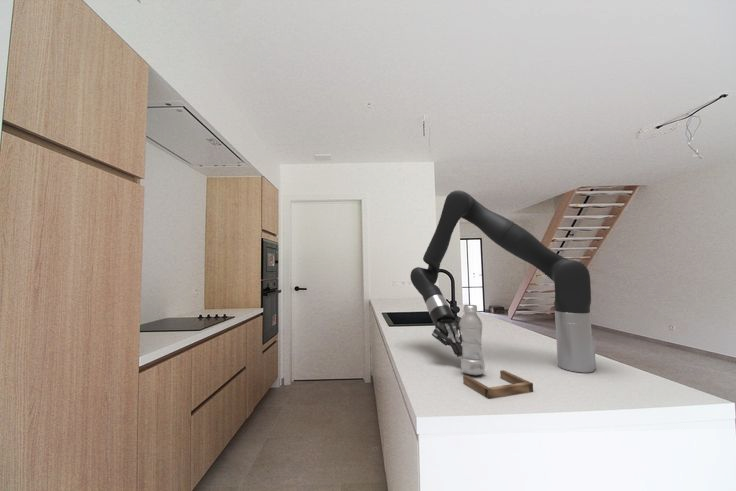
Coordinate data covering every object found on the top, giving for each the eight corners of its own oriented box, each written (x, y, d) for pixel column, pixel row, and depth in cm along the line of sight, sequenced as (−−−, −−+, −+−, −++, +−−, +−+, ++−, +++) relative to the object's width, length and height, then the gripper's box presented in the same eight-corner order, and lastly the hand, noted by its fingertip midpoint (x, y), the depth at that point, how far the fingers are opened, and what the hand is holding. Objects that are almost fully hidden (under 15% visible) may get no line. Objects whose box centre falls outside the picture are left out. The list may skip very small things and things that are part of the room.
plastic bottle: (487, 379, 84) (484, 307, 86) (462, 377, 85) (459, 306, 87) (483, 371, 90) (480, 304, 92) (459, 370, 92) (457, 304, 93)
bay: (504, 377, 85) (503, 370, 85) (533, 391, 75) (532, 383, 76) (463, 383, 81) (463, 375, 81) (488, 398, 72) (488, 390, 72)
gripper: (426, 305, 102) (446, 350, 90) (459, 303, 106) (483, 347, 93) (419, 318, 107) (438, 363, 94) (451, 316, 111) (474, 359, 98)
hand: (460, 355), depth 94 cm, fingers closed
